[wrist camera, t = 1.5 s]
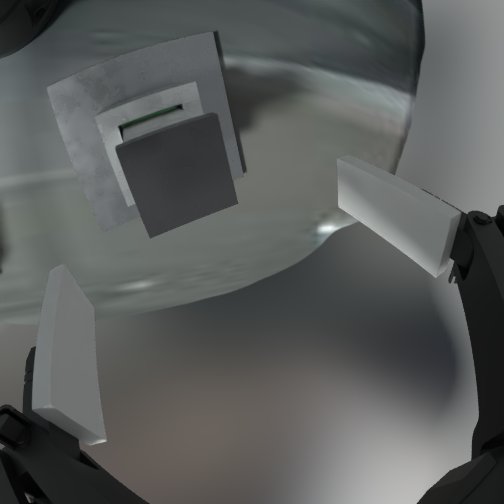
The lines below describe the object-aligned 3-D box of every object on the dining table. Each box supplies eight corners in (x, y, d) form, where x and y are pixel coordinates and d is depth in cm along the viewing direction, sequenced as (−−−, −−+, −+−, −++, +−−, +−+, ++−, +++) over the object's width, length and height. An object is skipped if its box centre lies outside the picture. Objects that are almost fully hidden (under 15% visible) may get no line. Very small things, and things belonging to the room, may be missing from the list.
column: (119, 116, 31) (115, 149, 15) (167, 99, 32) (217, 113, 16) (133, 161, 35) (150, 238, 19) (179, 144, 36) (238, 203, 20)
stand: (48, 87, 25) (22, 89, 17) (210, 32, 30) (242, 16, 22) (103, 228, 39) (102, 272, 30) (240, 174, 44) (275, 201, 35)
